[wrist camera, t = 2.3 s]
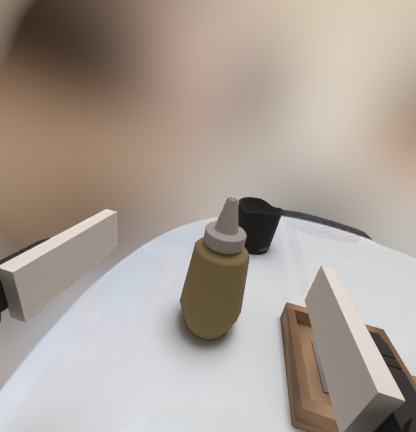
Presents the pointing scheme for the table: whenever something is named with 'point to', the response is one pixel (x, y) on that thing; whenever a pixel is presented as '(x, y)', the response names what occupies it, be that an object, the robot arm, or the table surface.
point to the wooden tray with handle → (312, 372)
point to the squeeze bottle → (216, 276)
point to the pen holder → (258, 223)
